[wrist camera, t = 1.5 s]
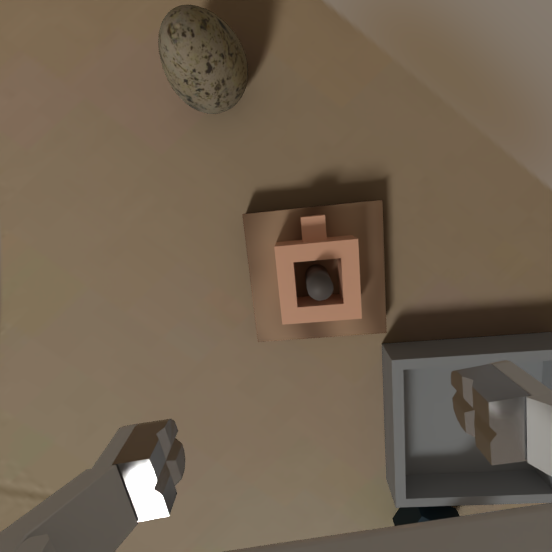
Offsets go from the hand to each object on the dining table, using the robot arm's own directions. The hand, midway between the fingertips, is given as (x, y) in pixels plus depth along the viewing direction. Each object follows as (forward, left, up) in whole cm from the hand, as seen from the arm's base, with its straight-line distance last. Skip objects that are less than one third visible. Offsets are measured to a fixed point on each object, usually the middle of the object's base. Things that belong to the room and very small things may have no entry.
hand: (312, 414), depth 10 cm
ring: (-1, +1, -21) cm, 21 cm away
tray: (-15, +17, -23) cm, 32 cm away
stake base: (-1, +1, -23) cm, 23 cm away
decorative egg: (+6, -16, -23) cm, 29 cm away
